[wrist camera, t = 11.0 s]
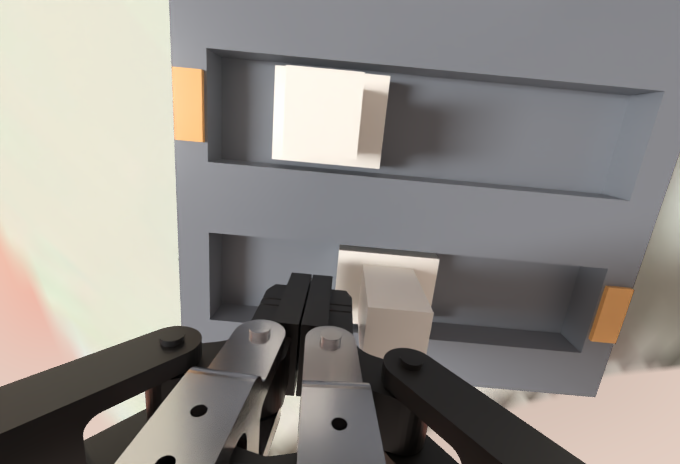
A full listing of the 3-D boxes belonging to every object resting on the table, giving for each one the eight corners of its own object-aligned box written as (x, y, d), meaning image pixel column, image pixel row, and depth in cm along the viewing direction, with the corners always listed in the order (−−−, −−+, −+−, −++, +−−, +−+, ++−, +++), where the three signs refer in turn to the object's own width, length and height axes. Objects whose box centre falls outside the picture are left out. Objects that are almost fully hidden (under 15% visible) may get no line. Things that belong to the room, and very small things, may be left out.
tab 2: (432, 249, 15) (469, 300, 11) (421, 315, 16) (451, 390, 11) (339, 240, 15) (336, 288, 11) (333, 308, 16) (327, 379, 11)
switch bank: (707, -156, 13) (824, -248, 10) (556, 355, 18) (598, 400, 15) (201, -206, 12) (153, -315, 9) (208, 324, 18) (180, 363, 15)
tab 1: (386, 80, 13) (407, 54, 9) (376, 166, 14) (390, 182, 10) (281, 70, 13) (246, 39, 9) (277, 156, 14) (244, 169, 10)
